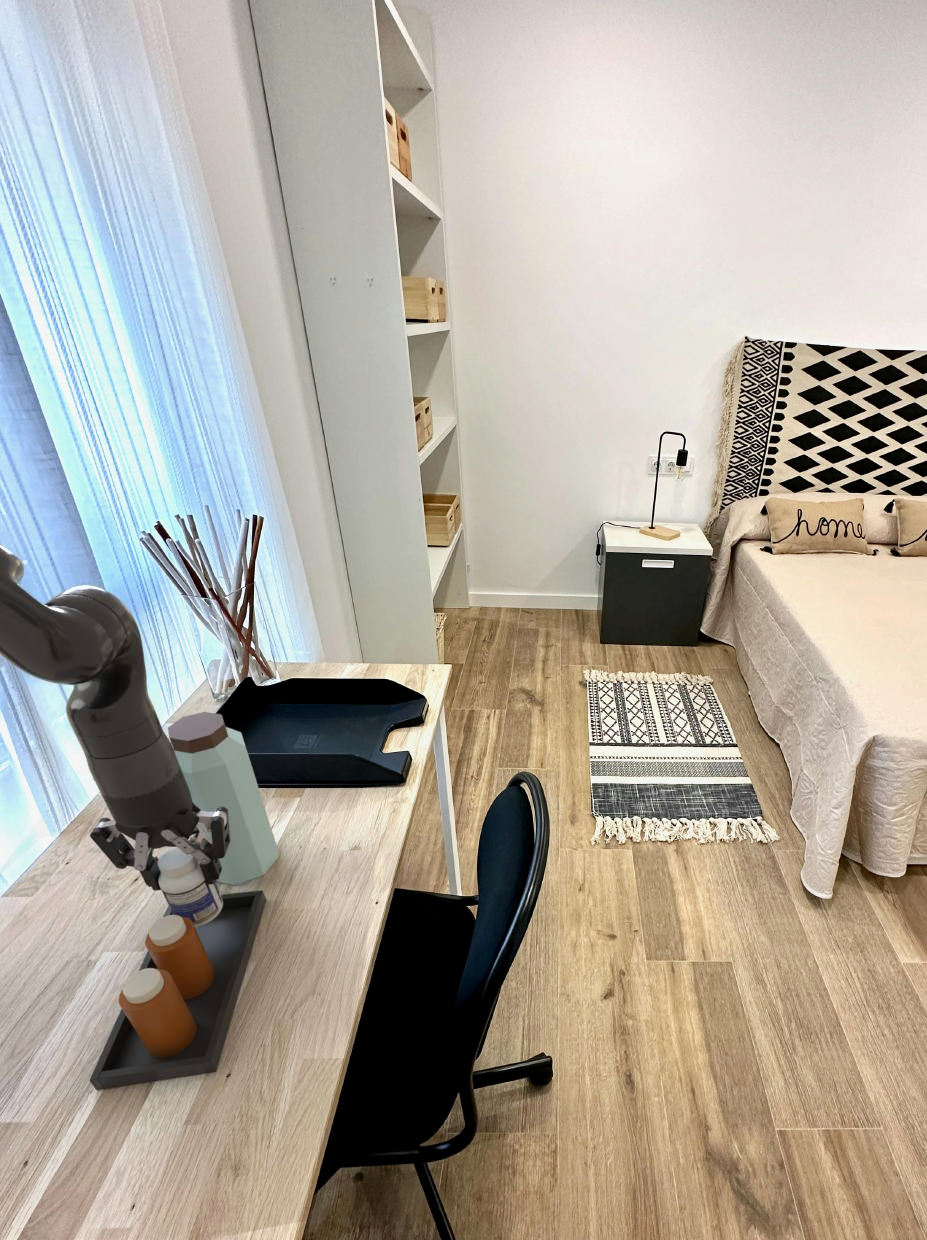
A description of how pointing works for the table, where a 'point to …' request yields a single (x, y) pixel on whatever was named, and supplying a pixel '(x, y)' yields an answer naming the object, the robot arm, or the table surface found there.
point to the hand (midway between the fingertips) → (187, 881)
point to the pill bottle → (188, 888)
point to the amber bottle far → (158, 1012)
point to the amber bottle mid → (180, 954)
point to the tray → (191, 1004)
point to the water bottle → (226, 792)
